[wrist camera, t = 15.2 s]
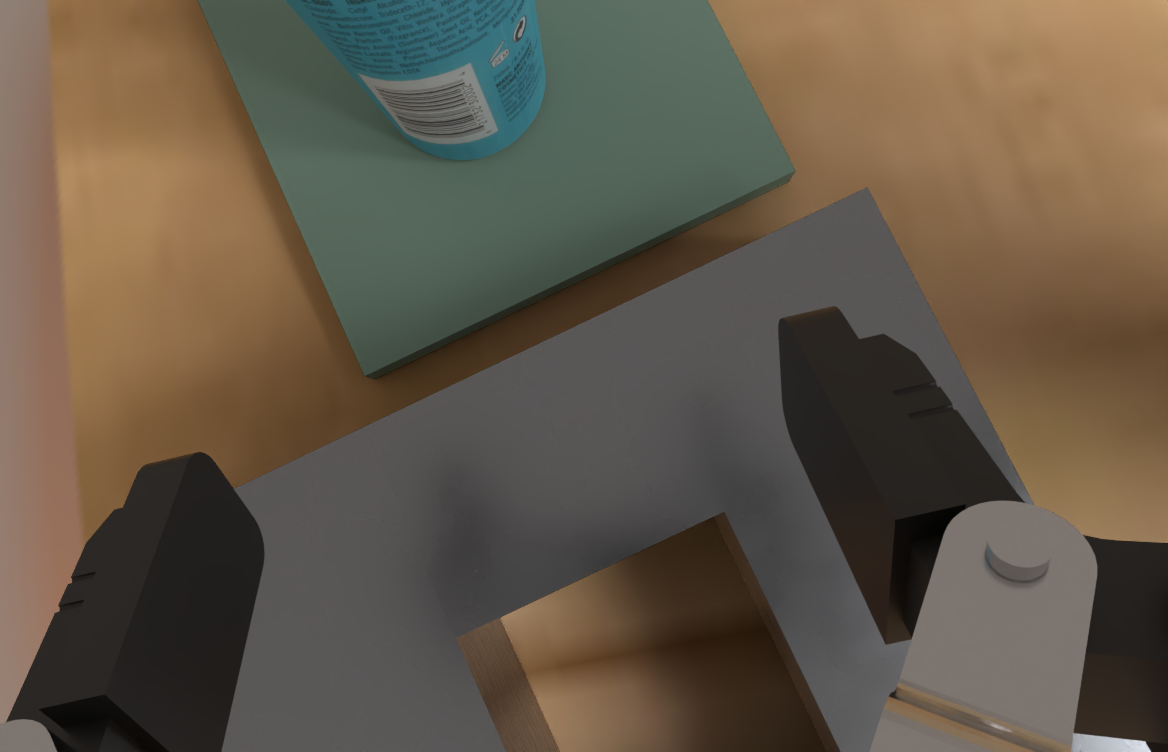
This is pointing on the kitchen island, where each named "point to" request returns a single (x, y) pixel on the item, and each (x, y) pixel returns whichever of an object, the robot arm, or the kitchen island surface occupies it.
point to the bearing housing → (580, 509)
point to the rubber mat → (501, 166)
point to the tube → (440, 66)
